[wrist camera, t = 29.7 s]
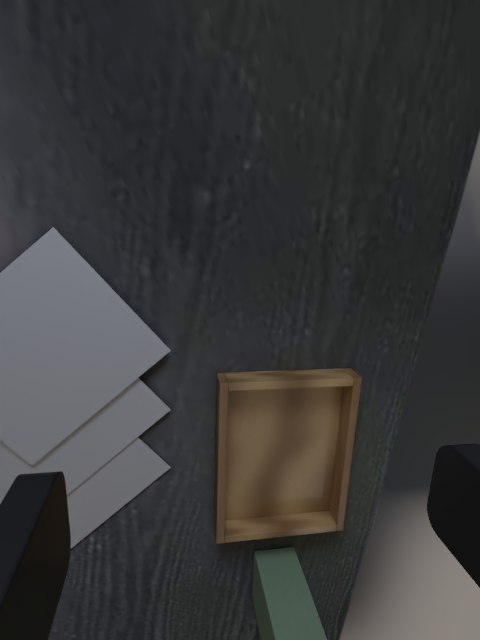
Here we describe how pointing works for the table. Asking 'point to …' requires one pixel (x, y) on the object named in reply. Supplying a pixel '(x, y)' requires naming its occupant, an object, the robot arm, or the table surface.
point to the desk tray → (283, 452)
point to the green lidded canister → (283, 597)
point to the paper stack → (75, 383)
